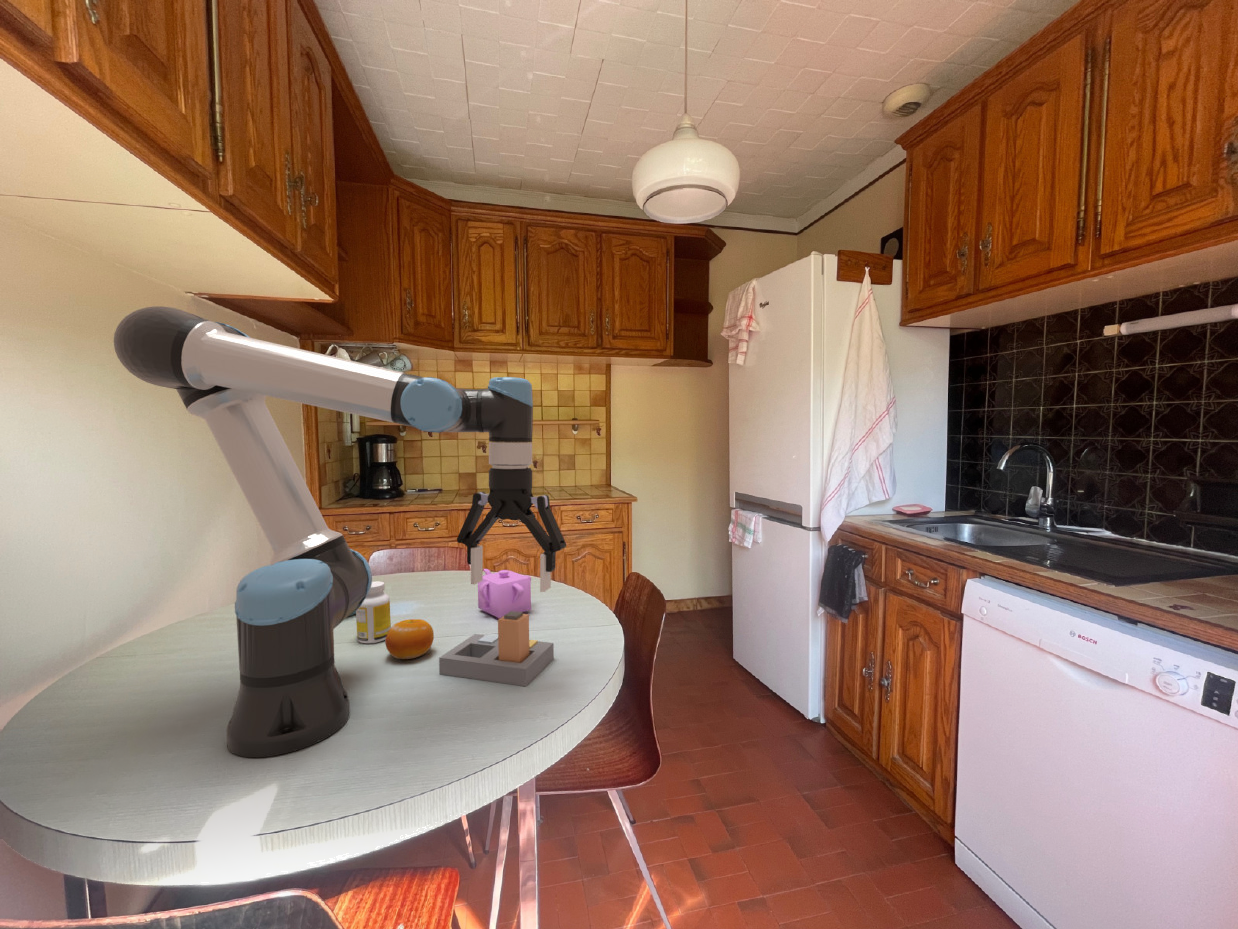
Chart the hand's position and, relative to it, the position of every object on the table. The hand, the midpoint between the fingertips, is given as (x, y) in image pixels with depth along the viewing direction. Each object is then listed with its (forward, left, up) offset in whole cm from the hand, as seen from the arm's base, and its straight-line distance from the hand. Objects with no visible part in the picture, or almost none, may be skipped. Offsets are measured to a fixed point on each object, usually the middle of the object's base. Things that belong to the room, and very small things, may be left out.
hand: (510, 586), depth 93 cm
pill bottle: (+6, +36, -16) cm, 39 cm away
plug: (0, 0, -16) cm, 16 cm away
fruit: (+1, +23, -16) cm, 28 cm away
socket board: (+1, +4, -16) cm, 16 cm away
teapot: (+29, +18, -16) cm, 38 cm away
